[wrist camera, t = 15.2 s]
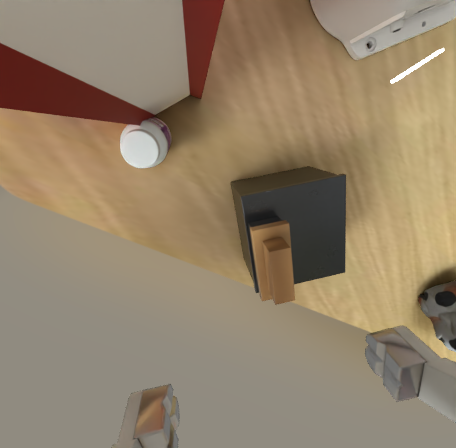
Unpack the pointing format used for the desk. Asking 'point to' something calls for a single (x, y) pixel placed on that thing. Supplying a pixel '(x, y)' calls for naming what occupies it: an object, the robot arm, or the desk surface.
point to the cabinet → (297, 217)
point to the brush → (273, 259)
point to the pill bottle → (145, 143)
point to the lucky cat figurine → (441, 311)
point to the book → (104, 55)
